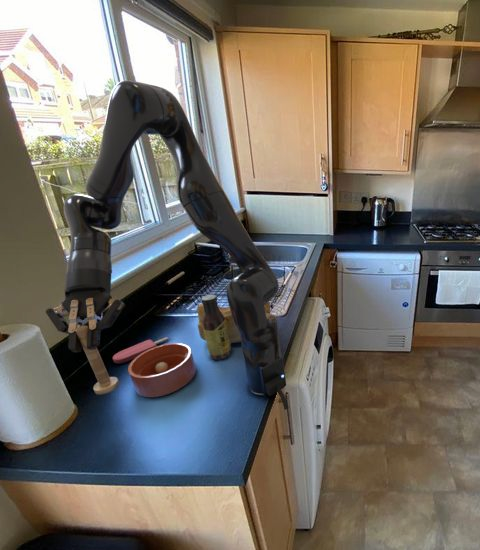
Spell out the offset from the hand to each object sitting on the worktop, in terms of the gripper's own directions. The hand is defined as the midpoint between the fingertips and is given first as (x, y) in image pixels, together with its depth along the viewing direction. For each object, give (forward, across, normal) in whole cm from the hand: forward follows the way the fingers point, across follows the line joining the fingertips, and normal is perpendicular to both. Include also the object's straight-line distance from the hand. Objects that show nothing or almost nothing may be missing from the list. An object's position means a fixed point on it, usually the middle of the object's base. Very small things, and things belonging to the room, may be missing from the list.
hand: (84, 349), depth 63 cm
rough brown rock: (-6, +27, +36) cm, 46 cm away
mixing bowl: (+6, +8, +24) cm, 26 cm away
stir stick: (+7, 0, +10) cm, 12 cm away
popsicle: (-6, -3, +36) cm, 37 cm away
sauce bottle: (+1, +21, +29) cm, 36 cm away
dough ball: (+2, +6, +25) cm, 26 cm away
